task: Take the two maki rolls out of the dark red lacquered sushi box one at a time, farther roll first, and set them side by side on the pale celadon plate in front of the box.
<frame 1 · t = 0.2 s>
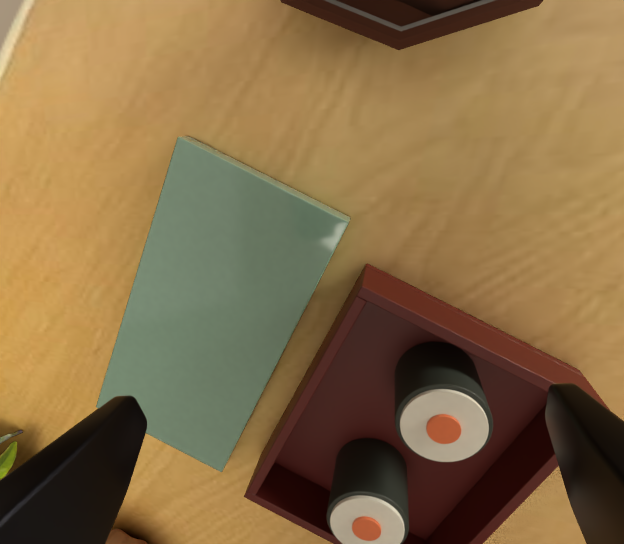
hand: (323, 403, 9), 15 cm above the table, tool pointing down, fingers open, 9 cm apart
passion flower: (4, 451, 35), on the table
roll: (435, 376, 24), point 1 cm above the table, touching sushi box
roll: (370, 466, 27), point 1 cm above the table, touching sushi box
sushi box: (400, 417, 26), on the table
plate: (210, 320, 26), on the table
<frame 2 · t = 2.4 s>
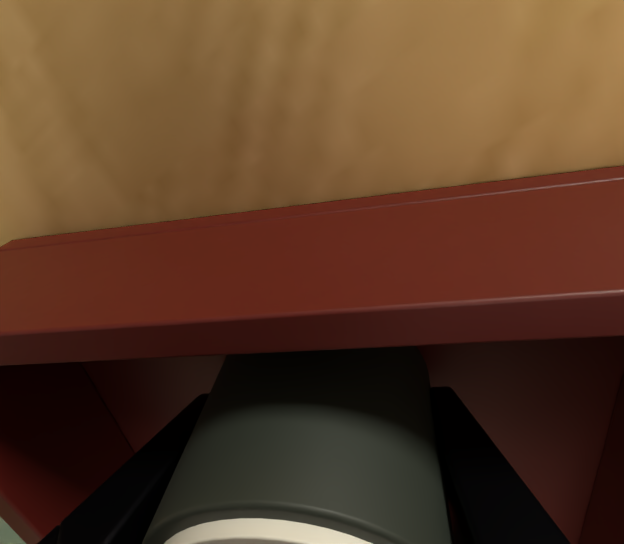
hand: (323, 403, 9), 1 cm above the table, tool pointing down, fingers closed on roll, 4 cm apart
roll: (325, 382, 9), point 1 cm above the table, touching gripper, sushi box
sushi box: (350, 467, 12), on the table
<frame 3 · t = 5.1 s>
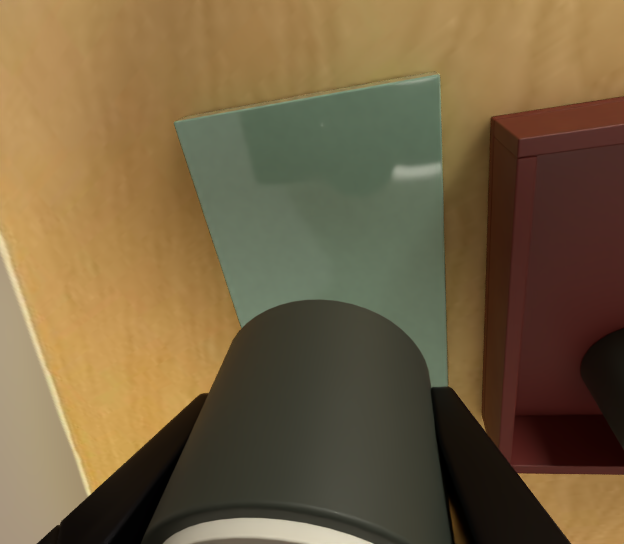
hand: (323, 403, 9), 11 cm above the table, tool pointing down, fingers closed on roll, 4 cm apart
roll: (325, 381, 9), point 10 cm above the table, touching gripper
plate: (339, 306, 21), on the table
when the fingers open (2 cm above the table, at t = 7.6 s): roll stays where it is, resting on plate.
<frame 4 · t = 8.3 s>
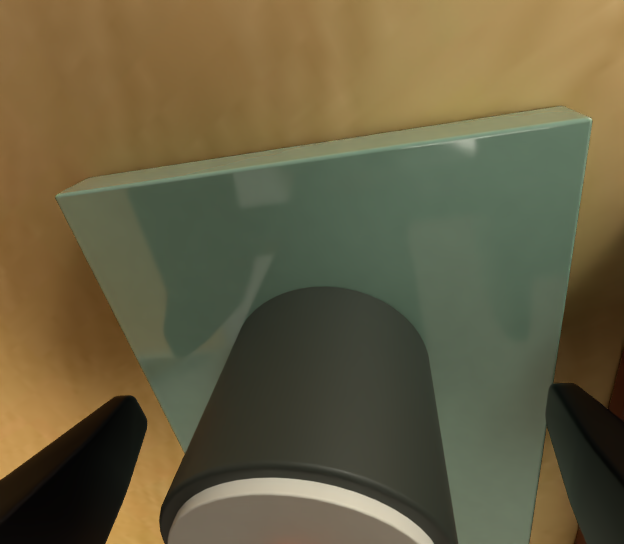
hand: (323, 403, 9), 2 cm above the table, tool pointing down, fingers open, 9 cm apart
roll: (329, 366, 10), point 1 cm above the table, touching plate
plate: (357, 456, 13), on the table
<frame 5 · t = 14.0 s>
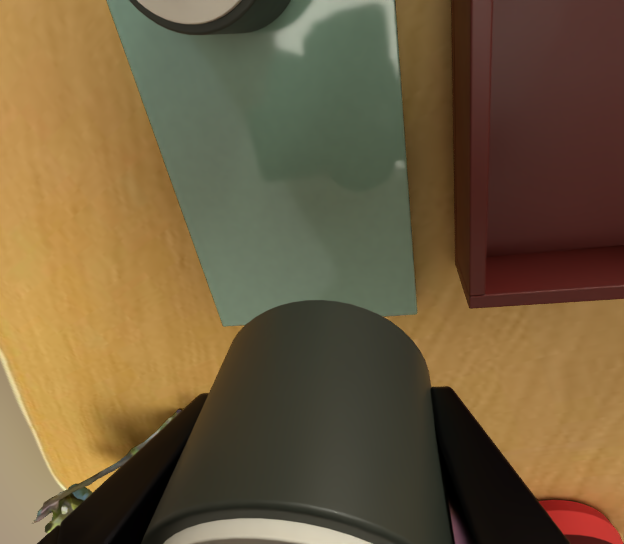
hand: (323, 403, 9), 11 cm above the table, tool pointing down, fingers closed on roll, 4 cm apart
passion flower: (182, 442, 30), on the table
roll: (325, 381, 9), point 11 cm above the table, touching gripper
plate: (275, 108, 17), on the table
canned food: (550, 527, 29), on the table
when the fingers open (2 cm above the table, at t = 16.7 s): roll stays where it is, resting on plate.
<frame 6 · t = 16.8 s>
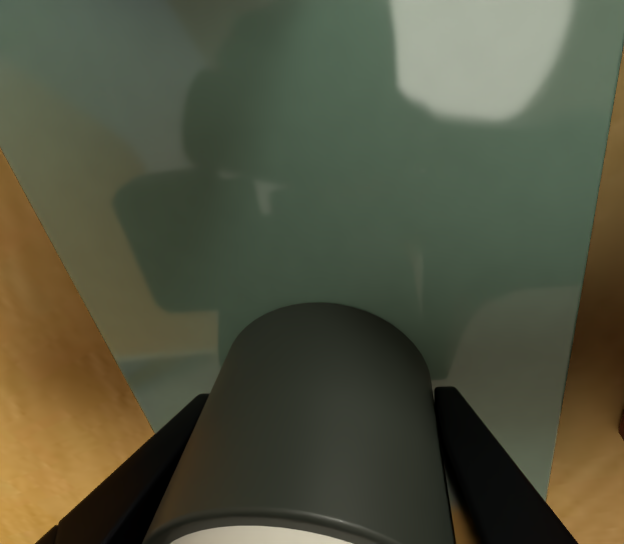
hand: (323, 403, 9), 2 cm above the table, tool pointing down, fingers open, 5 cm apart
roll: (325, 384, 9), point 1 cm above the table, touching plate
plate: (290, 152, 8), on the table
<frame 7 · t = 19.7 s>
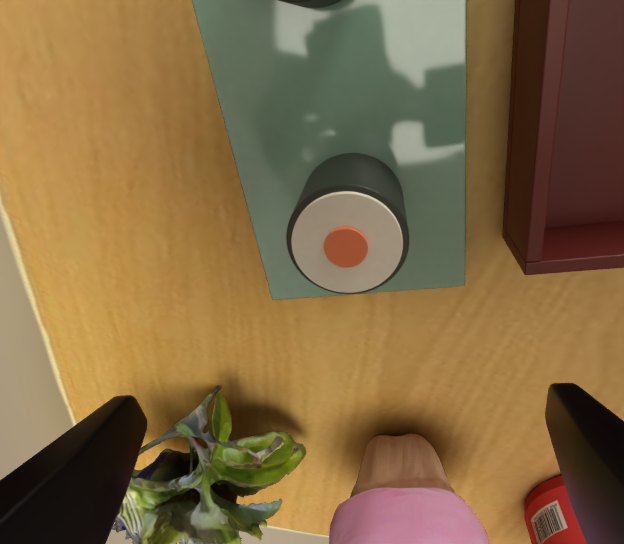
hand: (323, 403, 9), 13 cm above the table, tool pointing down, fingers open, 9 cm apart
passion flower: (218, 419, 30), on the table
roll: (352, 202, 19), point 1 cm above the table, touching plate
plate: (338, 83, 18), on the table
canned food: (577, 501, 30), on the table
cupcake: (401, 446, 29), on the table
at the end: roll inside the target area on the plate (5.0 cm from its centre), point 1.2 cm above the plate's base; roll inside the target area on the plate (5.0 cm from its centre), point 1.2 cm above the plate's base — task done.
